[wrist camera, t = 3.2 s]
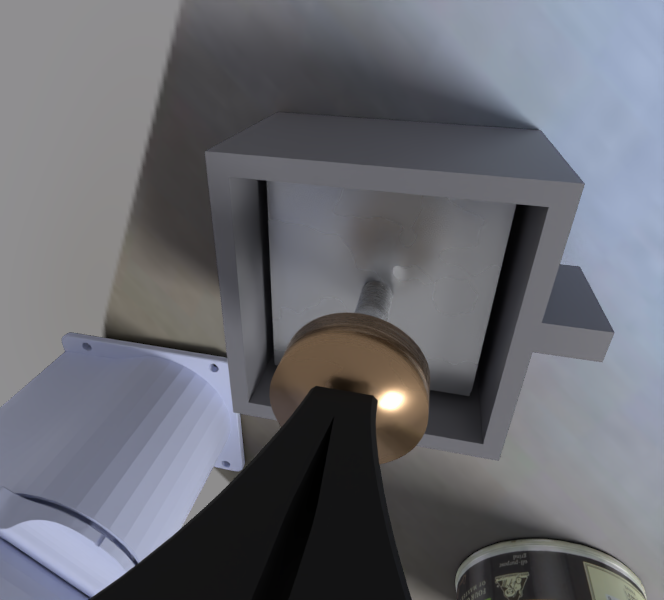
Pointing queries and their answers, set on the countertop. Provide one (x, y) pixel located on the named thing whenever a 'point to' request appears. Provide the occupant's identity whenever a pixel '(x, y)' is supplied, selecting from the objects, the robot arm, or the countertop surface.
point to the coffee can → (545, 573)
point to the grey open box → (420, 179)
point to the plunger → (380, 298)
